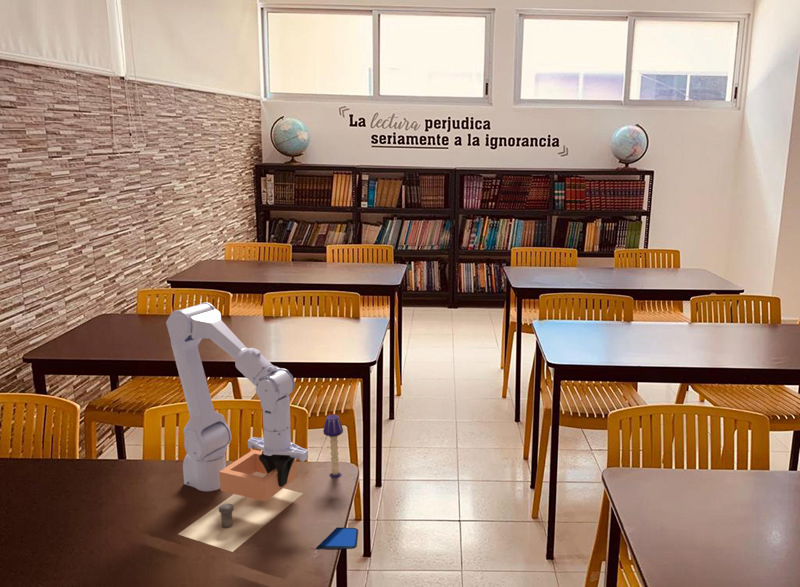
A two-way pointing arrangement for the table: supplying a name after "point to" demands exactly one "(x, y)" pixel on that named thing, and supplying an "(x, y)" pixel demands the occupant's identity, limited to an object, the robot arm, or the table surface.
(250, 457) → the orange square frame
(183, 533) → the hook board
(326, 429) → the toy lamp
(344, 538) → the smartphone
